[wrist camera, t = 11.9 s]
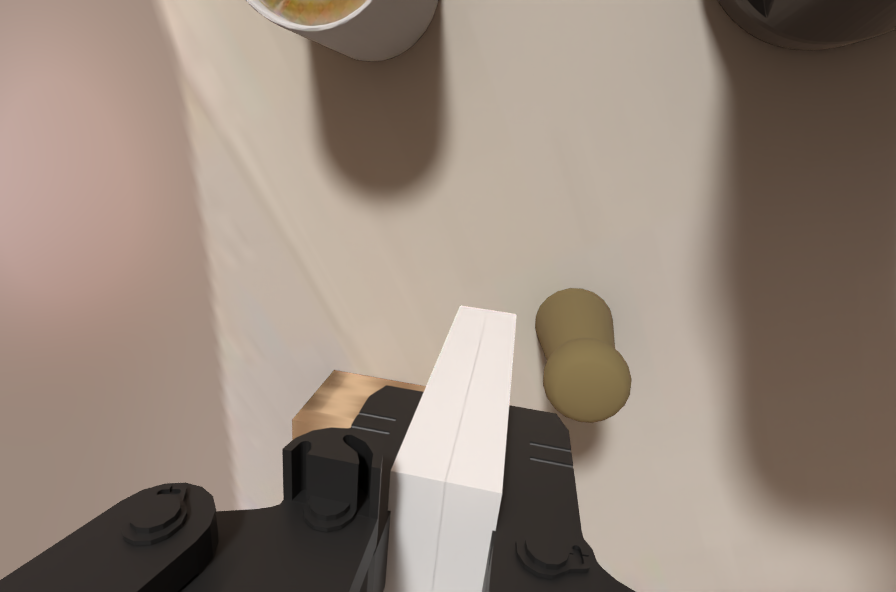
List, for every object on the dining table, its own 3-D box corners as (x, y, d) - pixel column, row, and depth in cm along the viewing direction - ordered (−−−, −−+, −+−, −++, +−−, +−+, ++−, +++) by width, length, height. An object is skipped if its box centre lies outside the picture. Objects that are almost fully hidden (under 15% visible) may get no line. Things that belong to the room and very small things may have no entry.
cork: (615, 354, 38) (647, 436, 27) (539, 361, 39) (542, 441, 29) (610, 283, 36) (641, 342, 26) (530, 292, 37) (530, 352, 27)
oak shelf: (463, 393, 41) (448, 450, 34) (444, 547, 47) (427, 624, 40) (334, 370, 42) (292, 419, 35) (331, 522, 49) (294, 592, 41)
